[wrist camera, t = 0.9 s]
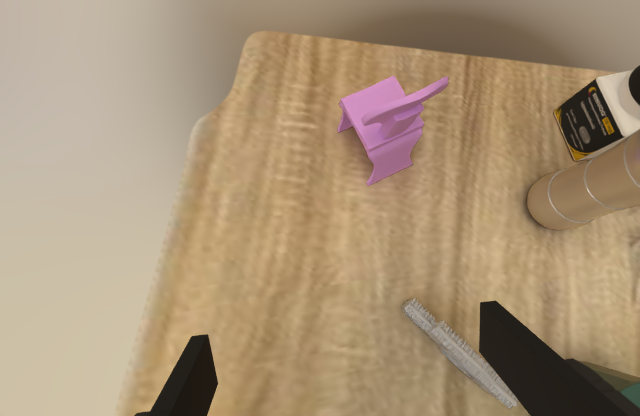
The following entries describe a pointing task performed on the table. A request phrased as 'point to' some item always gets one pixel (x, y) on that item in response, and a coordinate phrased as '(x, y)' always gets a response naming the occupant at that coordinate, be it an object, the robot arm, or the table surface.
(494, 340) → the robot arm
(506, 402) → the lattice window wall
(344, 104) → the toy chair
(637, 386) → the pot lid
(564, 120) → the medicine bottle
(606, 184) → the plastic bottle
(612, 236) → the table surface
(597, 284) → the table surface
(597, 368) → the pot
